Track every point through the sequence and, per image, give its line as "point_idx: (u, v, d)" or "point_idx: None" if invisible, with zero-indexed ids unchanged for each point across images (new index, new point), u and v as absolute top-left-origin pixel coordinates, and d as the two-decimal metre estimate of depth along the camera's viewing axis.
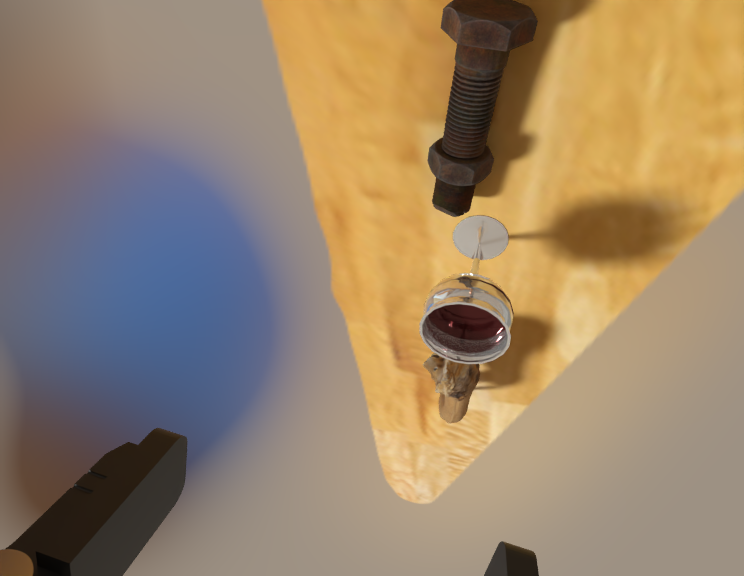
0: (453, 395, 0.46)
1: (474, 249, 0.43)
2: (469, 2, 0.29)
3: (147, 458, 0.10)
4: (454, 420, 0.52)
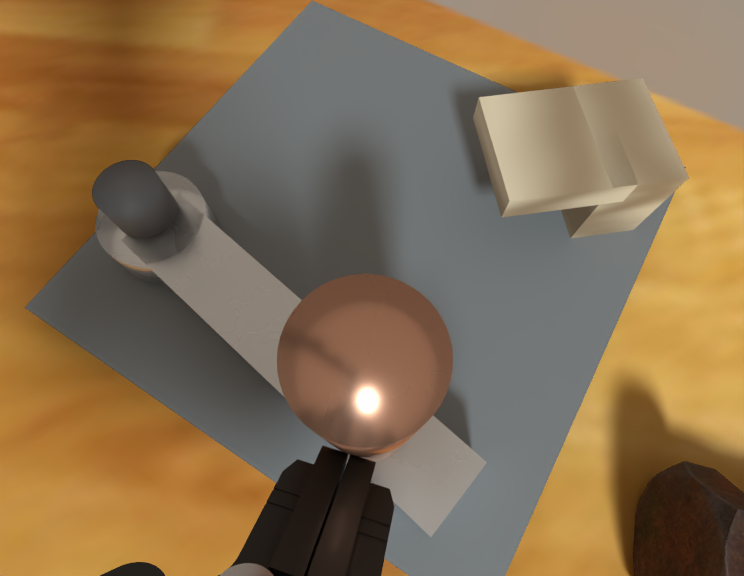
0: None
1: None
2: None
3: (327, 476, 0.11)
4: None
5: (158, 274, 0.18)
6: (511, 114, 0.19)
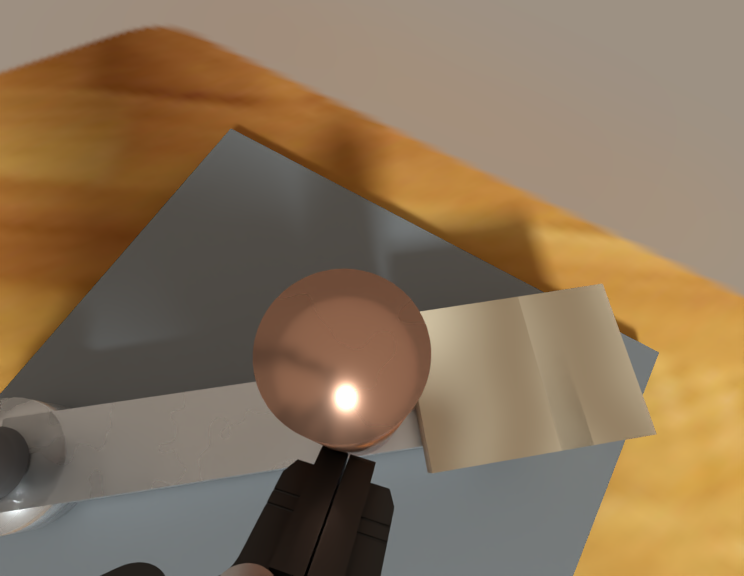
0: None
1: None
2: None
3: (328, 476, 0.11)
4: None
5: (65, 500, 0.15)
6: (440, 339, 0.15)
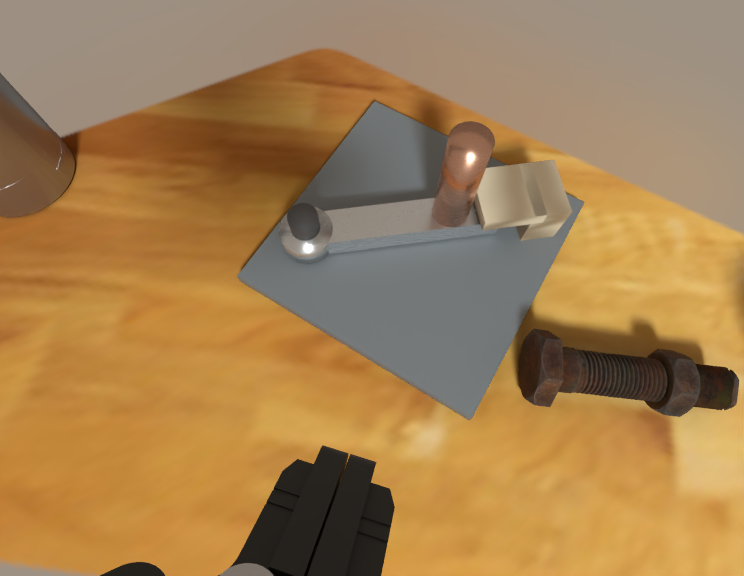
0: None
1: None
2: (527, 385, 0.35)
3: (327, 476, 0.11)
4: None
5: (335, 241, 0.38)
6: (487, 178, 0.38)
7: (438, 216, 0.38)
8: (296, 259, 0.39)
